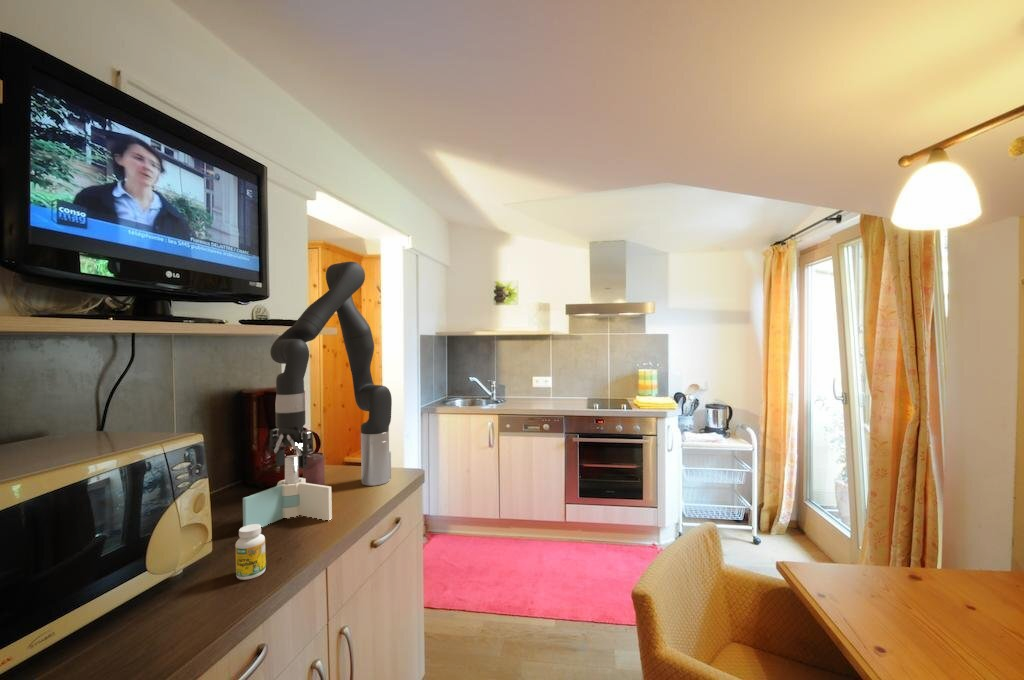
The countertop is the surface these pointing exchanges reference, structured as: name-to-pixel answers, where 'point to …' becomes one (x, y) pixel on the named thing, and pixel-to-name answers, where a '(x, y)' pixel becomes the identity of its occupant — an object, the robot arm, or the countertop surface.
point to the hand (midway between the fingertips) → (291, 466)
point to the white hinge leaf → (308, 500)
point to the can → (315, 469)
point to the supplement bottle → (250, 552)
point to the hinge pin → (291, 469)
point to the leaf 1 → (267, 506)
